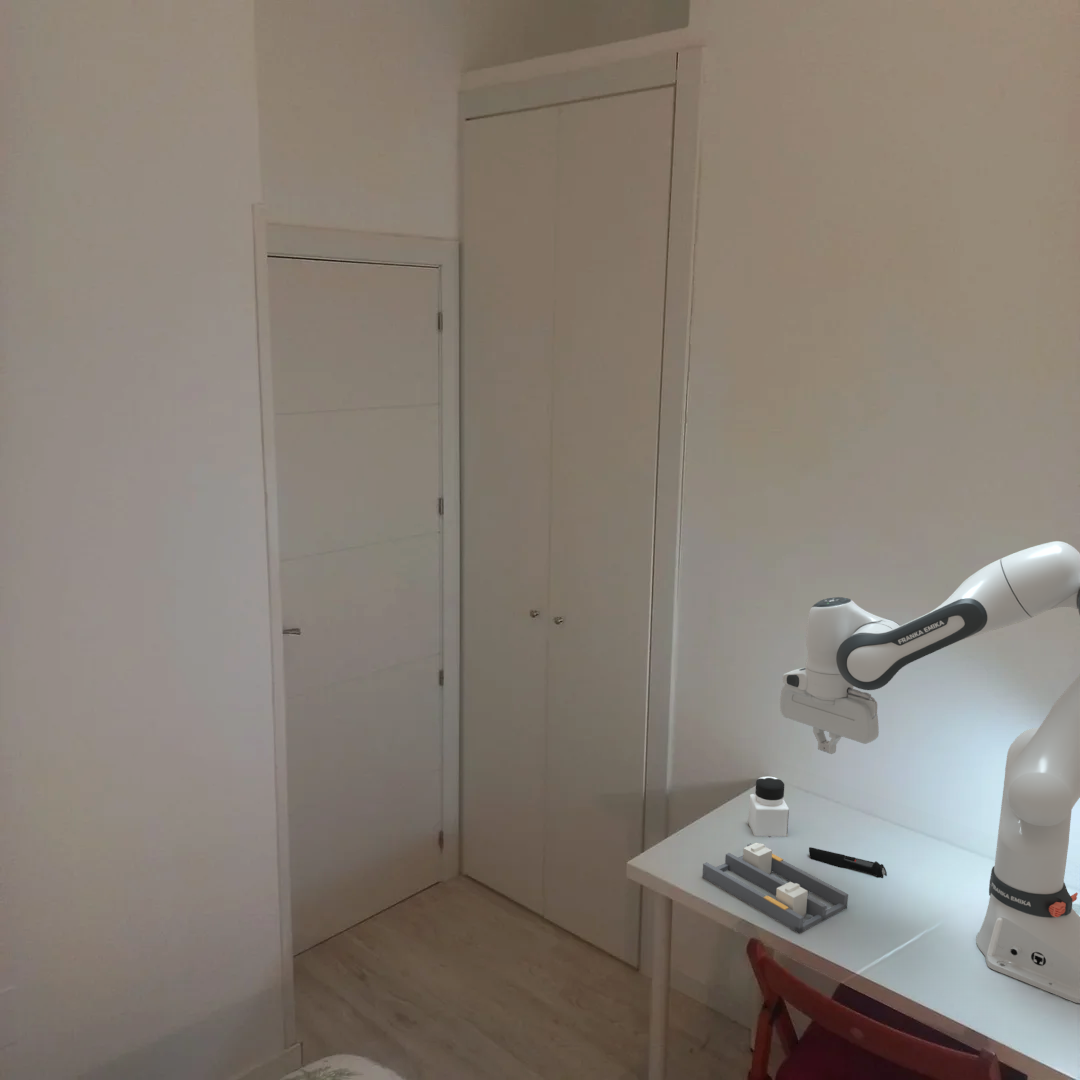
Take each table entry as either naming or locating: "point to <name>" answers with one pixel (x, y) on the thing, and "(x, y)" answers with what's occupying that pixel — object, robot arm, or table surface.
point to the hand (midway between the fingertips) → (826, 751)
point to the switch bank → (771, 885)
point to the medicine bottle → (768, 808)
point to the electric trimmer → (848, 862)
